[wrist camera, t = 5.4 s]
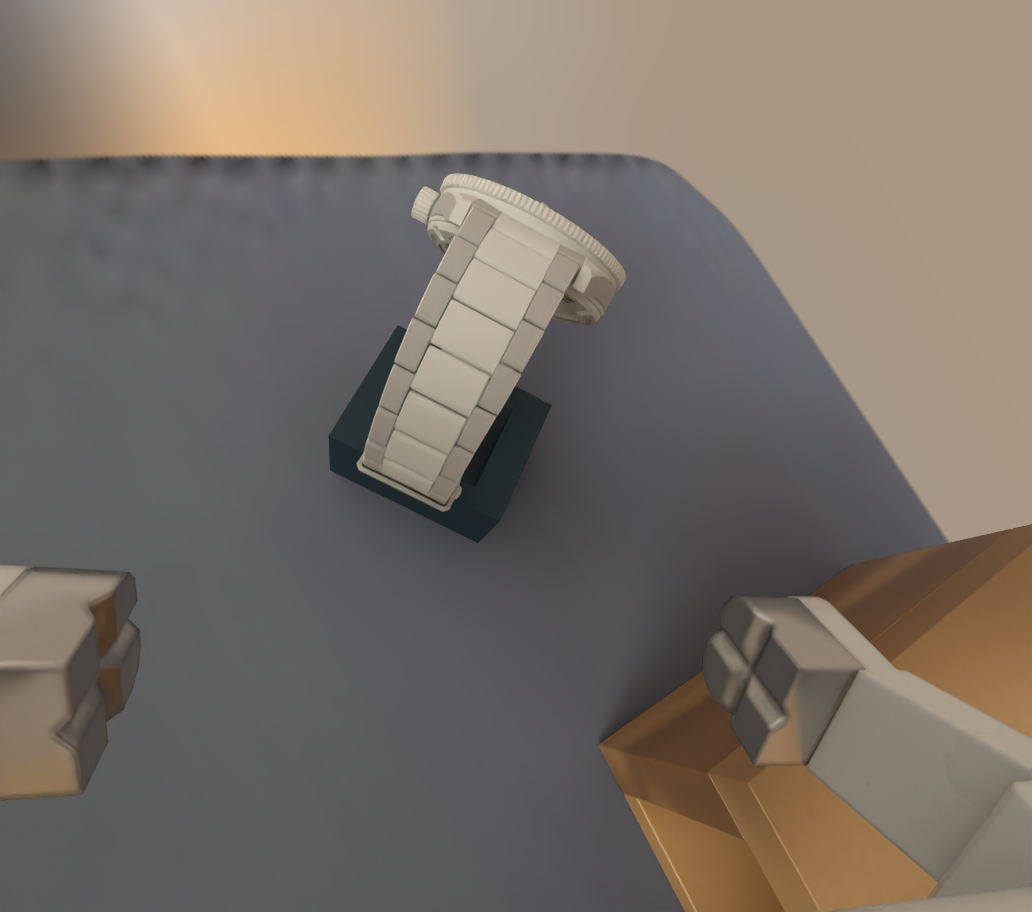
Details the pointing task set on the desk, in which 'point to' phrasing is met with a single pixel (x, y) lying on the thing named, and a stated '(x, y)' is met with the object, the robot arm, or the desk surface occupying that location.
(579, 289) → the watch
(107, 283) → the desk surface
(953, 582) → the wooden display stand
